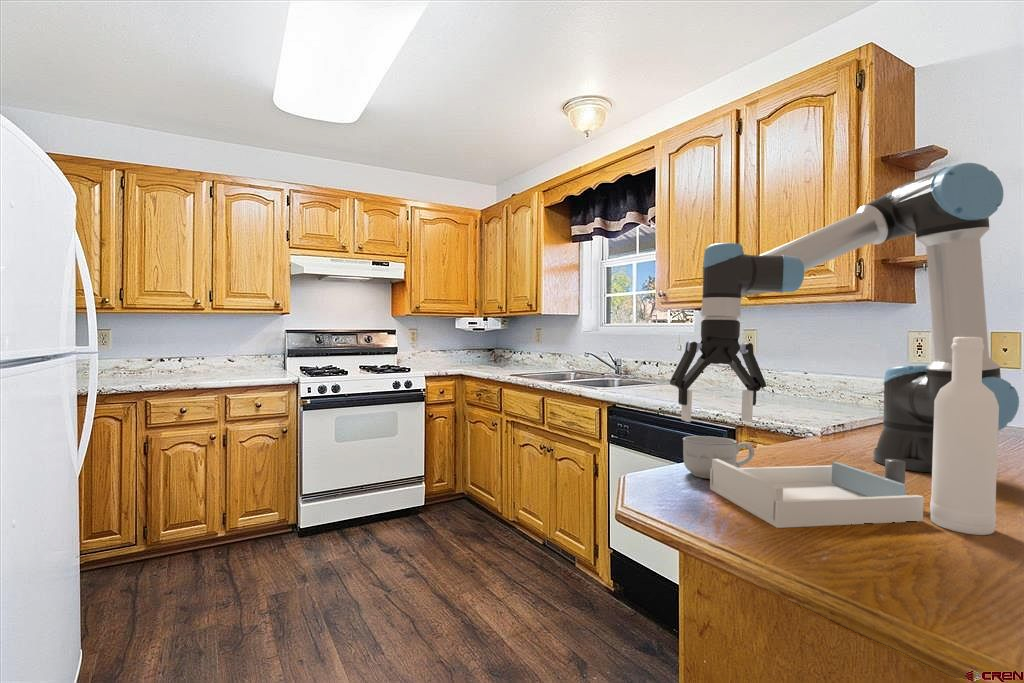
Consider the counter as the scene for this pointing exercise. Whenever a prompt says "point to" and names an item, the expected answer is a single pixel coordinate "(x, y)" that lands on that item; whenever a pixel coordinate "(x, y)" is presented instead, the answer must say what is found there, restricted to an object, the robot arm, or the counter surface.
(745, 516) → the counter surface
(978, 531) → the bottle
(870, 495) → the blue-grey panel and knob
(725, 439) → the teacup
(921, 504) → the tray
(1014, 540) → the counter surface
